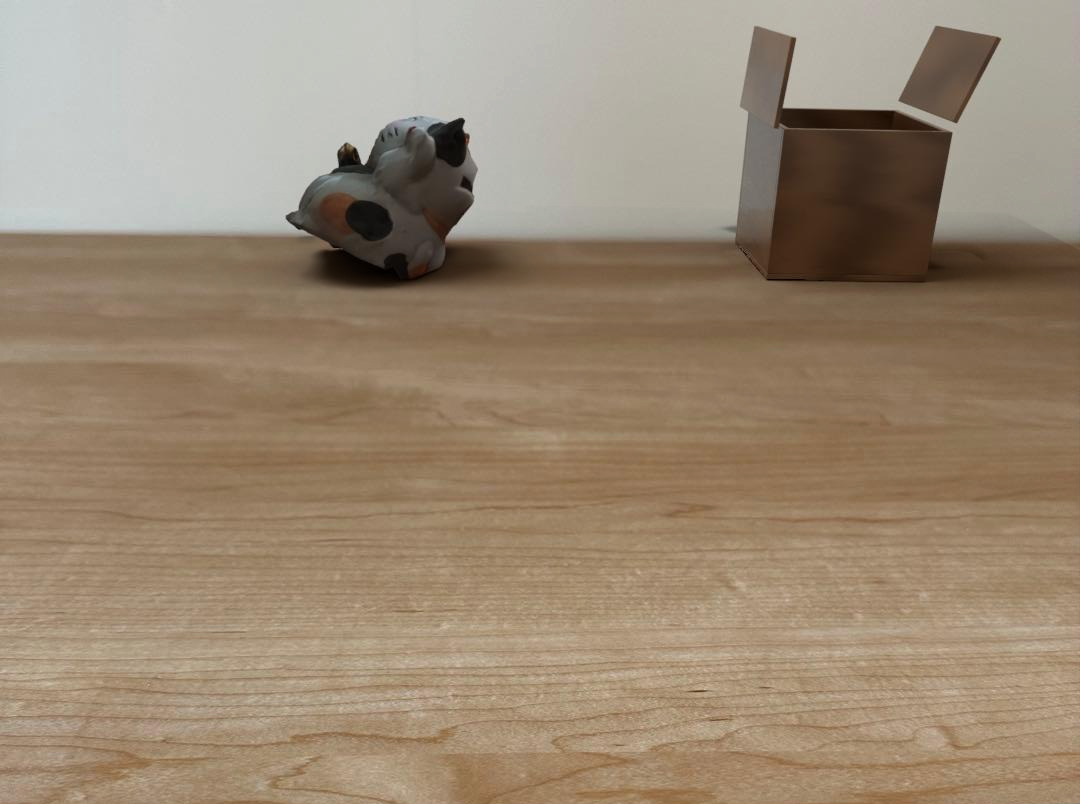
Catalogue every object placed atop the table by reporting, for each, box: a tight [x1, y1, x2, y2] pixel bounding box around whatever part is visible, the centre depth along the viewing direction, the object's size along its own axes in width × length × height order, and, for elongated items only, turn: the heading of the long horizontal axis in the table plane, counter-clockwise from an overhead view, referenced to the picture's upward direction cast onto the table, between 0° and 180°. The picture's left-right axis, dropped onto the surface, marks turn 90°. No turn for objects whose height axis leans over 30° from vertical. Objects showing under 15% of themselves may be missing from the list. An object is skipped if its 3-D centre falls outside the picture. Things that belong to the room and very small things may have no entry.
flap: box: [897, 25, 1002, 124], centre depth 90 cm, size 6×13×1 cm
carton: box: [734, 25, 954, 283], centre depth 93 cm, size 14×13×18 cm
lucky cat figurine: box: [285, 115, 479, 280], centre depth 90 cm, size 15×12×14 cm
